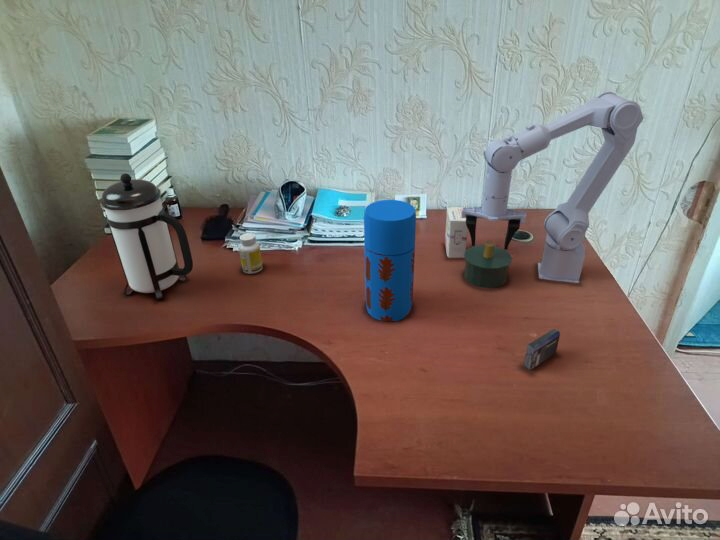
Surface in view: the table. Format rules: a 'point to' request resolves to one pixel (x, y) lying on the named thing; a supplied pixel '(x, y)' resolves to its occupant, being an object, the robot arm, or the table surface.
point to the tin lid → (488, 257)
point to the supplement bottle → (250, 254)
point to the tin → (485, 276)
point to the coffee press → (144, 236)
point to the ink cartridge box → (456, 232)
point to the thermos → (389, 258)
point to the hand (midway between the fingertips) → (489, 245)
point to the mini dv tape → (541, 349)
